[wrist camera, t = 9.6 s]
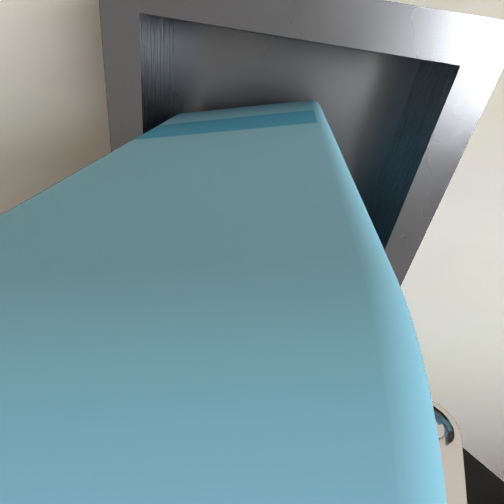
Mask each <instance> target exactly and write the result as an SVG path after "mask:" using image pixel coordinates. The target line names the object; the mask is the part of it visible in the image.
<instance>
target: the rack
mask: <svg viewBox="0 0 504 504" xmlns="http://www.w3.org/2000/svg"><path fill="white" fill-rule="evenodd" d="M99 8H100V20H101V32H102V44H103V56H104V69H105V81H106V93H107V105H108V117H109V129H110V141H111V152H113V151H114V150H116V149H118V148H120V147H121V146H123V145H125V144H127V143H128V142H130V141H132V140H134V139H135V138H137V137H139V136H141V135H142V134H144V133H146V132H148V131H150V130H151V129H153V128H155V127H157V126H158V125H160V124H162V123H164V122H165V121H167V120H169V119H171V118H172V117H174V116H176V115H178V114H181V113H191V112H200V111H210V110H219V109H229V108H239V107H248V106H258V105H267V104H277V103H287V102H296V101H306V100H315V101H317V102H318V103H319V105H320V106H321V109H322V111H323V113H324V115H325V118H326V120H327V122H328V124H329V127H330V129H331V131H332V133H333V136H334V138H335V140H336V142H337V145H338V147H339V149H340V151H341V154H342V156H343V158H344V160H345V163H346V165H347V167H348V169H349V172H350V174H351V176H352V178H353V181H354V183H355V185H356V187H357V190H358V192H359V194H360V197H361V199H362V201H363V203H364V206H365V208H366V210H367V212H368V215H369V217H370V219H371V221H372V224H373V226H374V228H375V230H376V233H377V235H378V237H379V239H380V242H381V244H382V246H383V248H384V251H385V253H386V255H387V257H388V260H389V262H390V264H391V266H392V269H393V271H394V273H395V275H396V278H397V280H398V282H399V285H400V286H401V284H402V282H403V280H404V277H405V275H406V273H407V271H408V269H409V267H410V265H411V263H412V260H413V258H414V256H415V254H416V252H417V250H418V248H419V246H420V244H421V241H422V239H423V237H424V235H425V233H426V231H427V229H428V227H429V225H430V222H431V220H432V218H433V216H434V214H435V212H436V210H437V208H438V205H439V203H440V201H441V199H442V197H443V195H444V193H445V191H446V189H447V186H448V184H449V182H450V180H451V178H452V176H453V174H454V172H455V169H456V167H457V165H458V163H459V161H460V159H461V157H462V155H463V153H464V150H465V148H466V146H467V144H468V142H469V140H470V138H471V136H472V133H473V131H474V129H475V127H476V125H477V123H478V121H479V119H480V117H481V114H482V112H483V110H484V108H485V106H486V104H487V102H488V100H489V97H490V95H491V93H492V91H493V89H494V87H495V85H496V83H497V81H498V78H499V76H500V74H501V72H502V70H503V68H504V20H501V19H495V18H489V17H483V16H477V15H471V14H464V13H458V12H452V11H446V10H440V9H434V8H428V7H421V6H415V5H409V4H403V3H397V2H391V1H384V0H99Z"/></svg>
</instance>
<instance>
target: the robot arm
mask: <svg viewBox="0 0 504 504" xmlns="http://www.w3.org/2000/svg"><path fill="white" fill-rule="evenodd" d="M432 404H433V409H434V415H435V420H436V426H437V431H438V437H439V444H440V451H441V458H442V465H443V472H444V481H445V491H446V500H447V504H504V482H503V481H502V480H501V479H499V478H498V477H497V476H496V475H495V474H493V473H492V472H491V471H490V470H489V469H487V468H486V467H485V466H484V465H483V464H482V463H480V462H479V461H478V460H477V459H476V458H474V457H473V456H472V455H471V454H470V453H468V452H467V451H466V450H465V449H464V448H463V447H462V437H461V433H460V429H459V427H458V425H457V423H456V422H455V420H454V418H453V417H452V416H451V415H450V414H449V413H448V412H447V411H446V410H445V409H444V408H443V407H441V406H440V405H439V404H437V403H435V402H433V401H432Z"/></svg>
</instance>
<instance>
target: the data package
mask: <svg viewBox="0 0 504 504" xmlns="http://www.w3.org/2000/svg"><path fill="white" fill-rule="evenodd" d="M0 504H447V500H446V491H445V481H444V472H443V465H442V458H441V451H440V444H439V437H438V431H437V426H436V420H435V415H434V409H433V404H432V398H431V393H430V388H429V384H428V379H427V375H426V370H425V366H424V362H423V357H422V354H421V350H420V346H419V342H418V339H417V335H416V331H415V328H414V324H413V321H412V318H411V315H410V312H409V309H408V306H407V303H406V300H405V297H404V295H403V292H402V290H401V287H400V285H399V282H398V280H397V278H396V275H395V273H394V271H393V269H392V266H391V264H390V262H389V260H388V257H387V255H386V253H385V251H384V248H383V246H382V244H381V242H380V239H379V237H378V235H377V233H376V230H375V228H374V226H373V224H372V221H371V219H370V217H369V215H368V212H367V210H366V208H365V206H364V203H363V201H362V199H361V197H360V194H359V192H358V190H357V187H356V185H355V183H354V181H353V178H352V176H351V174H350V172H349V169H348V167H347V165H346V163H345V160H344V158H343V156H342V154H341V151H340V149H339V147H338V145H337V142H336V140H335V138H334V136H333V133H332V131H331V129H330V127H329V124H328V122H327V120H326V118H325V115H324V113H323V111H322V109H321V106H320V105H319V103H318V102H317V101H315V100H306V101H296V102H287V103H277V104H267V105H258V106H248V107H239V108H229V109H219V110H210V111H200V112H191V113H181V114H178V115H176V116H174V117H172V118H171V119H169V120H167V121H165V122H164V123H162V124H160V125H158V126H157V127H155V128H153V129H151V130H150V131H148V132H146V133H144V134H142V135H141V136H139V137H137V138H135V139H134V140H132V141H130V142H128V143H127V144H125V145H123V146H121V147H120V148H118V149H116V150H114V151H113V152H111V153H109V154H107V155H106V156H104V157H102V158H100V159H98V160H97V161H95V162H93V163H91V164H90V165H88V166H86V167H84V168H83V169H81V170H79V171H77V172H76V173H74V174H72V175H70V176H69V177H67V178H65V179H63V180H62V181H60V182H58V183H56V184H54V185H53V186H51V187H49V188H47V189H46V190H44V191H42V192H40V193H39V194H37V195H35V196H33V197H32V198H30V199H28V200H26V201H25V202H23V203H21V204H19V205H18V206H16V207H14V208H12V209H10V210H9V211H7V212H5V213H3V214H2V215H0Z"/></svg>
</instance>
